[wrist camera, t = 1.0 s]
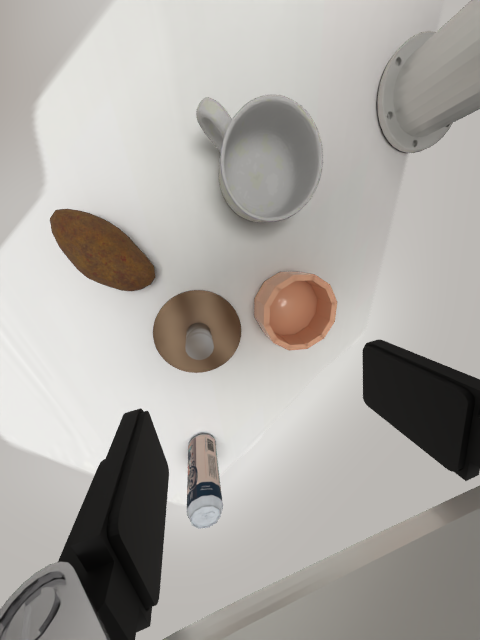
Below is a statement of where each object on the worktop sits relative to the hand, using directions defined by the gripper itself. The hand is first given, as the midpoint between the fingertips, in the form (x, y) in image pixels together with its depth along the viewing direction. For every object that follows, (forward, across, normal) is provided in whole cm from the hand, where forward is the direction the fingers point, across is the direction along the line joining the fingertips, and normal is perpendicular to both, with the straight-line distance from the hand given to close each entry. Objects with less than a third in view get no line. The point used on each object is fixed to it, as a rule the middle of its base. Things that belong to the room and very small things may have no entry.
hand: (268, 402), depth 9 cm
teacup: (+25, -8, -15) cm, 30 cm away
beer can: (+26, +7, +25) cm, 37 cm away
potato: (+26, +10, -8) cm, 29 cm away
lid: (+26, +2, +4) cm, 26 cm away
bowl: (+25, -12, +4) cm, 28 cm away
